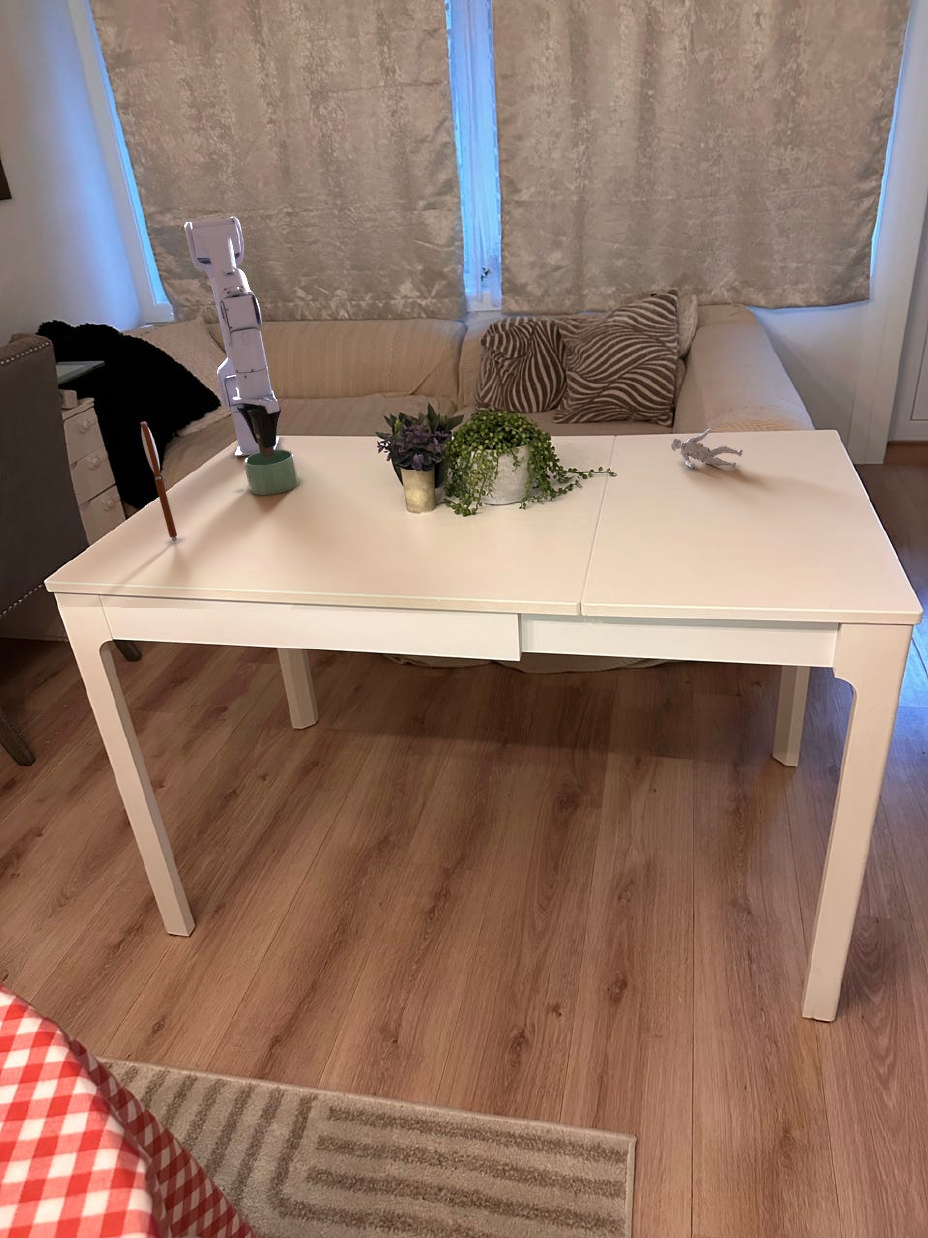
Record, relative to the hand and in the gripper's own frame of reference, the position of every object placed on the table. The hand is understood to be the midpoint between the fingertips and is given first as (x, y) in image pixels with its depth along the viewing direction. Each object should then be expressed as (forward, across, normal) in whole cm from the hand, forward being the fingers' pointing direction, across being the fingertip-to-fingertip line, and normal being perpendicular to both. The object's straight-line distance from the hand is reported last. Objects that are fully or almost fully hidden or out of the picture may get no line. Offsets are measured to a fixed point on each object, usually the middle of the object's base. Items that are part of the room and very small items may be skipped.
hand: (265, 444), depth 165 cm
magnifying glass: (+8, +12, -23) cm, 27 cm away
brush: (+2, 0, 0) cm, 2 cm away
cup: (+8, 0, 0) cm, 8 cm away
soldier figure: (+8, +49, +60) cm, 78 cm away
